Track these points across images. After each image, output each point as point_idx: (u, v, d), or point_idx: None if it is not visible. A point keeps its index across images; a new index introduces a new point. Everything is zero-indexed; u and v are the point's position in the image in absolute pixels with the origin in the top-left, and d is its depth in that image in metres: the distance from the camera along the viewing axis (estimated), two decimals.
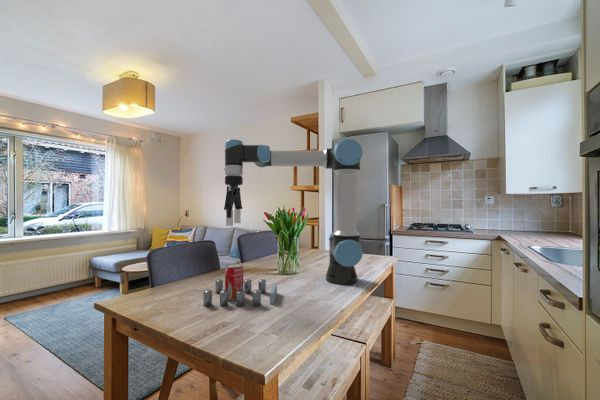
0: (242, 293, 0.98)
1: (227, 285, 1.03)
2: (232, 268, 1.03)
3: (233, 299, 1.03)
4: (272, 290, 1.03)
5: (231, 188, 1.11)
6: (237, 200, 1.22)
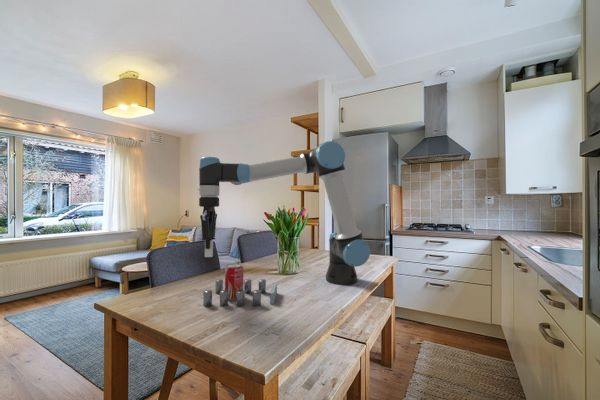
0: (242, 293, 0.98)
1: (227, 285, 1.03)
2: (232, 268, 1.03)
3: (233, 299, 1.03)
4: (272, 290, 1.03)
5: (205, 218, 1.00)
6: None
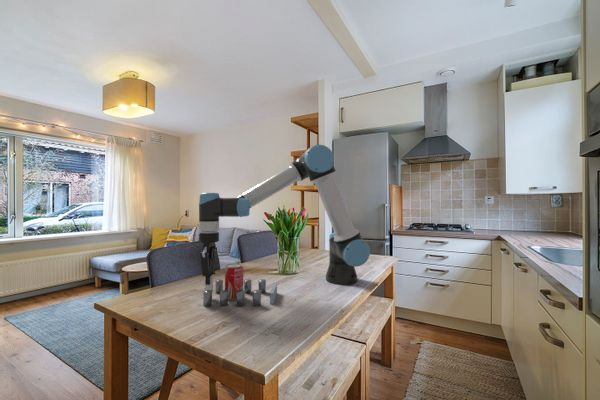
0: (242, 293, 0.98)
1: (227, 285, 1.03)
2: (232, 268, 1.03)
3: (233, 299, 1.03)
4: (272, 290, 1.03)
5: (205, 256, 1.00)
6: None
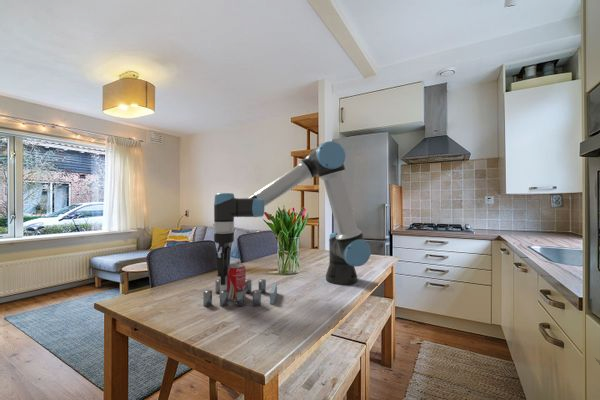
0: (242, 293, 0.98)
1: (229, 285, 1.03)
2: (234, 268, 1.03)
3: (235, 299, 1.02)
4: (272, 290, 1.03)
5: (221, 256, 1.00)
6: (225, 261, 1.07)
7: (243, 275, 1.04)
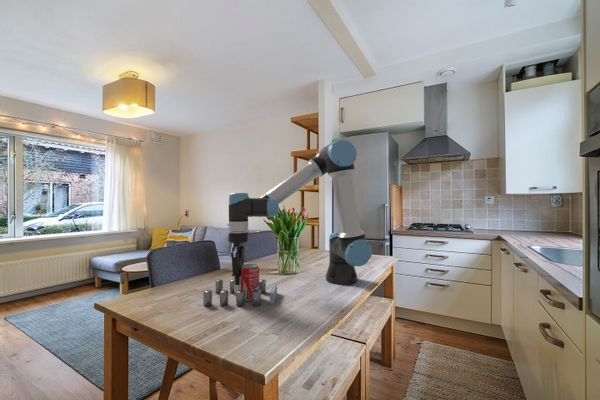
0: (242, 293, 0.98)
1: (242, 285, 1.03)
2: (247, 268, 1.02)
3: (248, 299, 1.02)
4: (272, 290, 1.03)
5: (236, 256, 1.00)
6: None
7: (256, 276, 1.03)
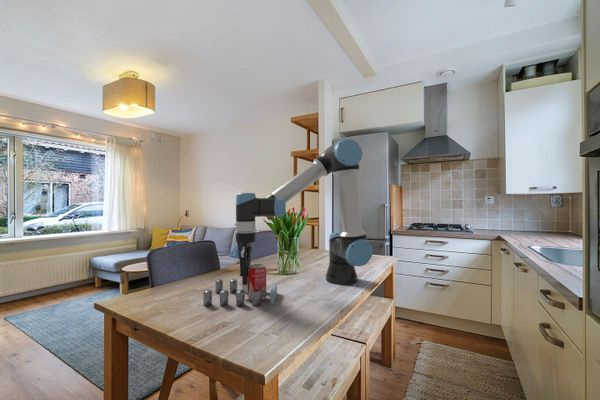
0: (242, 293, 0.98)
1: (249, 285, 1.03)
2: (253, 268, 1.02)
3: None
4: (272, 290, 1.03)
5: (244, 256, 1.00)
6: (247, 261, 1.07)
7: (262, 276, 1.03)
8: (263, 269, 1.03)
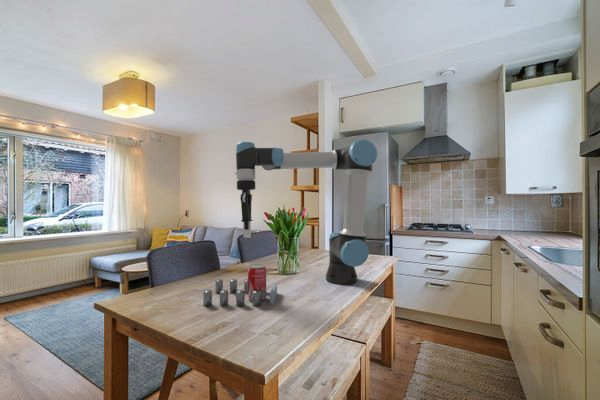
0: (242, 293, 0.98)
1: (249, 285, 1.03)
2: (253, 268, 1.02)
3: None
4: (272, 290, 1.03)
5: (245, 200, 1.05)
6: (248, 208, 1.12)
7: (262, 276, 1.03)
8: (263, 269, 1.03)
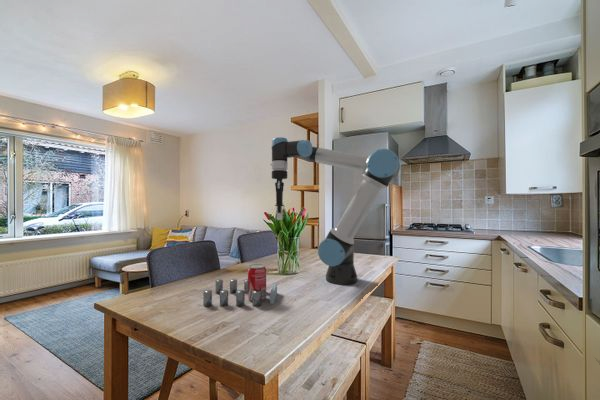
0: (242, 293, 0.98)
1: (249, 285, 1.03)
2: (253, 268, 1.02)
3: None
4: (272, 290, 1.03)
5: (280, 187, 1.23)
6: None
7: (262, 276, 1.03)
8: (263, 269, 1.03)
